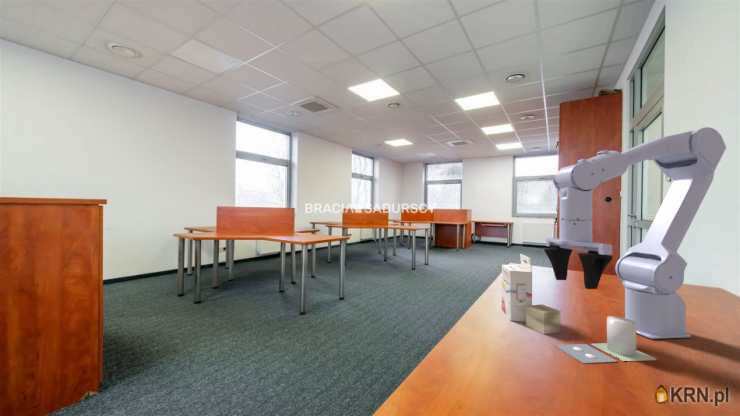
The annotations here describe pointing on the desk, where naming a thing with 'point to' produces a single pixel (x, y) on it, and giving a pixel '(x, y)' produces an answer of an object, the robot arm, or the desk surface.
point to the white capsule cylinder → (621, 335)
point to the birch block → (543, 318)
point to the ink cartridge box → (517, 289)
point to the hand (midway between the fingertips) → (575, 284)
